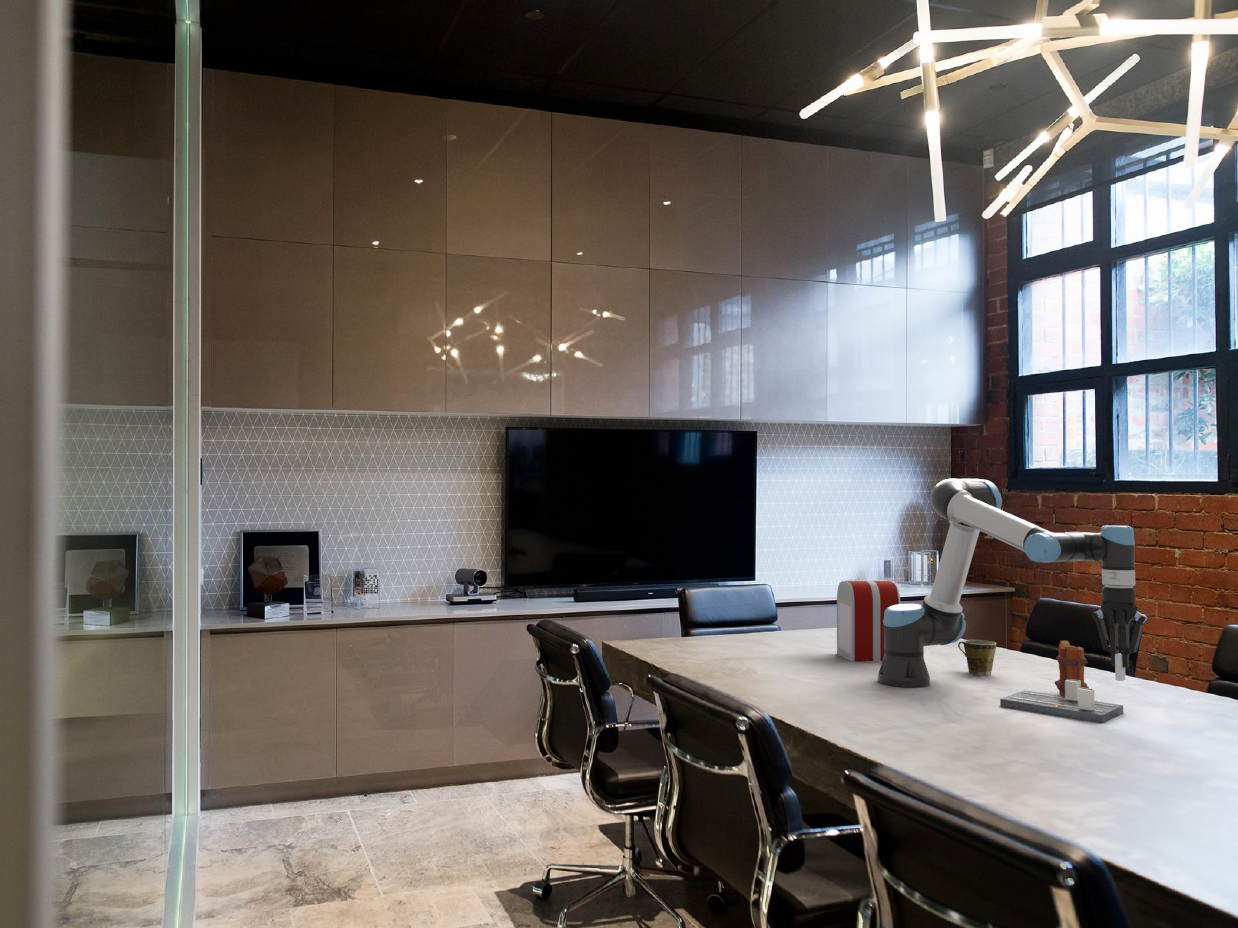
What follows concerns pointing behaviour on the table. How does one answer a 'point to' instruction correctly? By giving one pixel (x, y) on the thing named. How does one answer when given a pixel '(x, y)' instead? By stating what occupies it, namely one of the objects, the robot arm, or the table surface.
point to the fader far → (1072, 689)
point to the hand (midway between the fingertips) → (1120, 679)
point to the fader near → (1085, 698)
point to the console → (1060, 706)
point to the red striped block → (863, 618)
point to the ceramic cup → (979, 656)
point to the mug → (1070, 665)
